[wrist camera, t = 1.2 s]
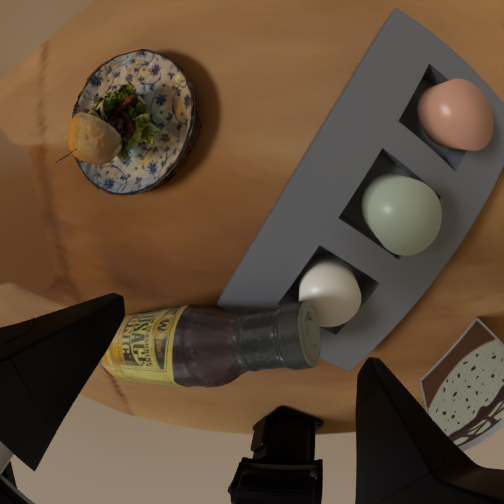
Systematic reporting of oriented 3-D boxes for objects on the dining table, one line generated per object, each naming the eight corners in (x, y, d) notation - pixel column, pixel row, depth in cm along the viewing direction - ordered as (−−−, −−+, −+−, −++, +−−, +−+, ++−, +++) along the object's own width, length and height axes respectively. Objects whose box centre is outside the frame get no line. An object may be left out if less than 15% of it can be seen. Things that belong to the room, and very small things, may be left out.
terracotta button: (474, 115, 11) (500, 113, 9) (452, 160, 13) (478, 165, 10) (431, 74, 11) (454, 64, 8) (407, 120, 13) (428, 116, 10)
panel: (496, 124, 13) (520, 125, 10) (345, 346, 23) (349, 371, 20) (383, 24, 12) (395, 7, 10) (227, 283, 22) (216, 304, 19)
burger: (235, 120, 18) (198, 106, 11) (133, 221, 22) (75, 254, 15) (143, 30, 15) (88, 1, 8) (65, 130, 20) (4, 137, 13)
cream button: (364, 272, 19) (373, 292, 16) (332, 311, 20) (335, 335, 18) (319, 243, 18) (323, 261, 16) (289, 287, 20) (287, 309, 17)
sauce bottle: (103, 306, 24) (293, 250, 16) (145, 339, 28) (325, 308, 20) (78, 362, 20) (289, 353, 11) (127, 391, 23) (327, 392, 15)
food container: (439, 397, 24) (459, 461, 15) (410, 388, 24) (429, 461, 15) (507, 323, 19) (548, 381, 10) (485, 304, 19) (534, 370, 10)
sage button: (430, 197, 14) (453, 209, 11) (397, 248, 16) (413, 268, 13) (383, 159, 14) (401, 163, 11) (348, 214, 16) (359, 229, 13)
